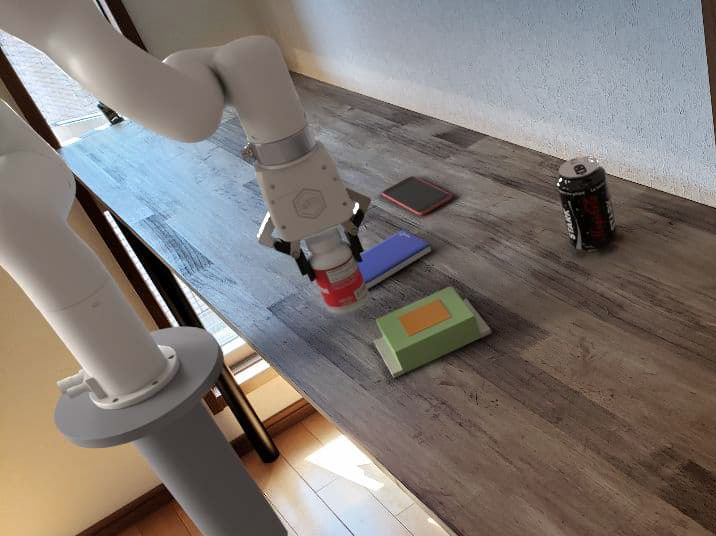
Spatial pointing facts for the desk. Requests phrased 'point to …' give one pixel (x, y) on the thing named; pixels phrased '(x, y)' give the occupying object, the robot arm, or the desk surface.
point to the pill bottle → (336, 271)
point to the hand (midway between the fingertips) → (334, 266)
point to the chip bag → (428, 330)
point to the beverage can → (586, 204)
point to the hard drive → (391, 256)
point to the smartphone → (417, 195)
